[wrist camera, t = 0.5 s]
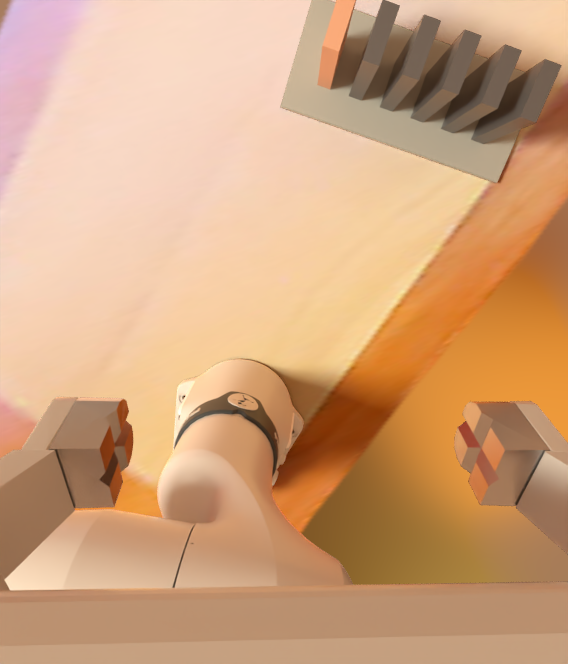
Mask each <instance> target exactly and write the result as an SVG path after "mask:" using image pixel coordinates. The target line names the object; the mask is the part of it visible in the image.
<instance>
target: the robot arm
mask: <svg viewBox="0 0 568 664" xmlns="http://www.w3.org/2000/svg"><path fill="white" fill-rule="evenodd" d="M183 395H186V396H185V398H184V397H183ZM128 413H129V410H128V406H127V402H126V400H124V399H122V398H90V397H80V398H77V397H57V398H55V399H54V400H52V401H51V403H50V405H49V406H48V408H47V409H46V411H45V413H44V414H43V416H42V417H41V419H40V420H39V422H38V424H37V425H36V427H35V428H34V430H33V431H32V433H31V435H30V436H29V438H28V439H27V441H26V443H25V444H24V446H23V447H22V449H21V450H13V451H11V452H10V453H8V454H6V455H5V456H3V457H2V458H0V664H568V582H510V583H509V582H508V583H507V582H506V583H444V584H386V585H353V583H352V581H351V579H350V577H349V576H348V574H347V572H346V570H345V569H344V567H343V566H342V565H341V563H340V562H339V561H338V560H337V559H336V558H334V557H332V556H330V555H329V554H327V553H326V552H324V551H323V550H321V549H320V548H318V547H317V546H315V545H314V544H313V543H312V542H310V541H309V540H308V539H306V538H305V537H304V536H303V535H302V534H301V533H300V532H299V531H298V530H297V529H296V528H295V527H294V526H293V525H292V524H291V523H290V522H289V521H288V519H287V518H286V517H285V516H284V514H283V513H282V512H281V510H280V509H279V507H278V506H277V504H276V502H275V500H274V498H273V495H272V486H273V485H274V484H275V482H276V480H277V477H278V474H279V472H278V471H277V469H278V467H279V465H280V464H281V465H282V464H283V463H284V462H285V459H286V454H287V453H288V451H289V450H290V448H291V447H292V445H293V443H294V442H295V440H296V439H297V437H298V436H299V434H300V432H301V431H302V429H303V426H304V420H303V418H302V417H301V415H300V414H299V413H298V412H297V410H296V409H295V408H294V407H293V405H292V402H291V399H290V395H289V392H288V390H287V388H286V386H285V384H284V382H283V381H282V380H281V378H280V377H279V376H278V375H277V374H276V373H275V372H274V371H272V370H271V369H270V368H268V367H266V366H265V365H263V364H260V363H258V362H255V361H251V360H245V359H233V360H227V361H224V362H221V363H218V364H216V365H214V366H213V367H211V368H209V369H208V370H207V371H206V372H204V373H203V374H202V375H200V376H198V377H194V378H190V379H186V380H184V381H182V382H181V383H180V384H179V386H178V388H177V399H176V415H175V431H174V447H173V452H172V454H171V456H170V458H169V460H168V462H167V463H166V465H165V467H164V469H163V471H162V473H161V475H160V478H159V483H158V491H157V494H158V503H159V507H160V510H161V513H162V516H163V518H160V517H154V516H148V515H142V514H136V513H130V512H124V511H119V510H113V509H99V510H75V509H74V508H98V507H114V506H115V503H116V501H117V498H118V495H119V492H120V489H121V486H122V483H123V480H122V475H121V471H123V470H124V469H125V468H126V467H128V465H129V462H130V459H131V456H132V449H133V431H132V426H131V425H130V424H129V423H128V422H127V421H126V418H127V415H128ZM463 416H464V418H465V420H466V421H465V422H464V423H463V424H462V425H460V426H459V427H458V428H457V432H456V435H455V452H456V456H457V459H458V461H459V463H460V465H461V466H462V467H463V468H464V469H466V470H467V471H468V472H469V473H471V475H470V478H469V481H468V482H469V484H470V486H471V488H472V490H473V492H474V494H475V496H476V498H477V500H478V502H479V504H480V505H498V506H516V508H517V509H518V510H519V511H520V512H521V513H522V514H523V515H524V516H526V517H527V518H528V519H529V520H530V521H531V522H532V523H533V524H534V525H535V526H537V527H538V528H539V529H540V530H541V531H542V532H543V533H544V534H545V535H547V536H548V537H549V538H550V539H551V540H552V541H553V542H554V543H556V544H557V545H558V546H559V547H560V548H561V549H562V550H563V551H564V552H566V553H567V554H568V443H567V442H566V441H565V439H564V438H563V437H562V435H561V434H560V433H559V432H558V430H557V429H556V428H555V427H554V425H553V424H552V423H551V422H550V421H549V419H548V418H547V417H546V415H545V414H544V413H543V412H542V411H541V409H540V408H539V407H538V406H537V405H536V404H535V403H533V402H531V401H516V402H515V401H513V402H512V401H511V402H469V403H468V404H467V405H466V406H465V409H464V411H463ZM293 430H294V431H293ZM292 431H293V432H292Z"/></svg>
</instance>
